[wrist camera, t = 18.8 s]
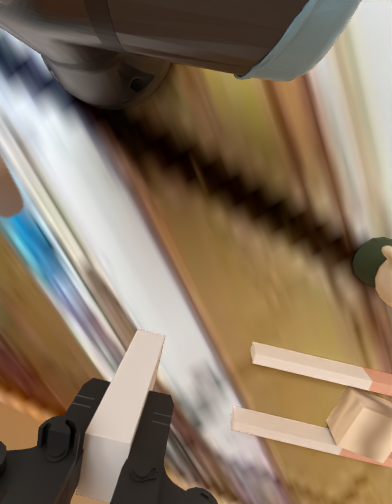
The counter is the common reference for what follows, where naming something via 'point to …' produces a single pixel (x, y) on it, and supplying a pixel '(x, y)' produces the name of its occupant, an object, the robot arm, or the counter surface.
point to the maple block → (362, 424)
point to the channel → (313, 368)
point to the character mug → (376, 266)
